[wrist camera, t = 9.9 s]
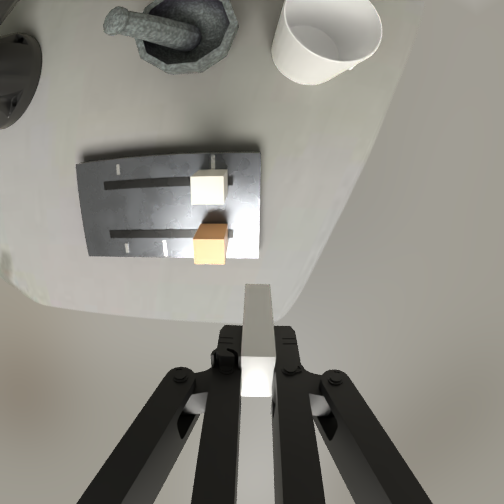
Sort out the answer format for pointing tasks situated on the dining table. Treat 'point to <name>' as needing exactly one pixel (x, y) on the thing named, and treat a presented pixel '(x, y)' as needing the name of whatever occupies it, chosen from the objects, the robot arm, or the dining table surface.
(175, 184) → the console
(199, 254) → the fader
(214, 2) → the mortar and pestle
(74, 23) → the dining table surface
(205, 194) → the fader
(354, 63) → the mug
